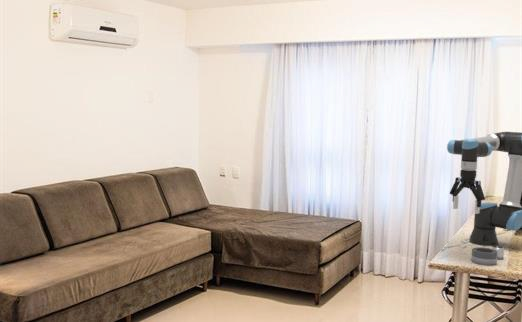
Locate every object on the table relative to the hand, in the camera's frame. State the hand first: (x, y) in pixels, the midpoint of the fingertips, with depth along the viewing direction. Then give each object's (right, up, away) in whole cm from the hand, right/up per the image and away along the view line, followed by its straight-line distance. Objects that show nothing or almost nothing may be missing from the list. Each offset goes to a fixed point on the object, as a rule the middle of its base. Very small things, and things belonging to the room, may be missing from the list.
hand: (465, 211), depth 297 cm
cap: (+18, -25, +4) cm, 31 cm away
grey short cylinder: (+7, -25, -4) cm, 27 cm away
